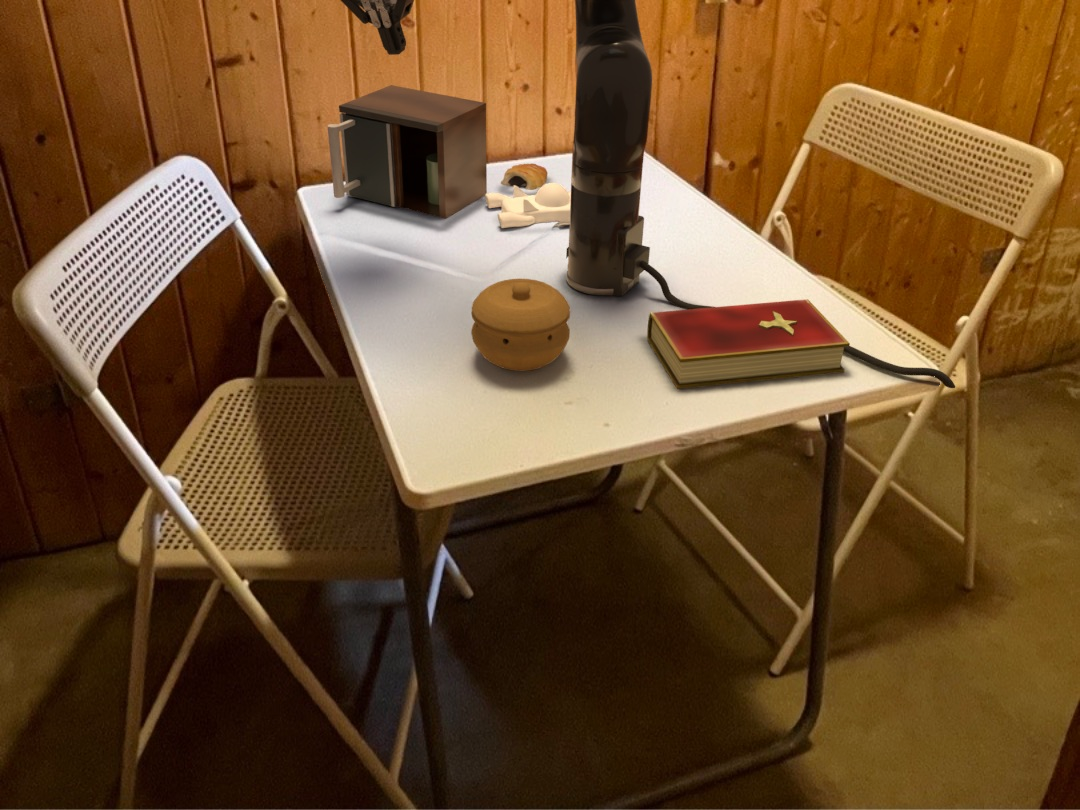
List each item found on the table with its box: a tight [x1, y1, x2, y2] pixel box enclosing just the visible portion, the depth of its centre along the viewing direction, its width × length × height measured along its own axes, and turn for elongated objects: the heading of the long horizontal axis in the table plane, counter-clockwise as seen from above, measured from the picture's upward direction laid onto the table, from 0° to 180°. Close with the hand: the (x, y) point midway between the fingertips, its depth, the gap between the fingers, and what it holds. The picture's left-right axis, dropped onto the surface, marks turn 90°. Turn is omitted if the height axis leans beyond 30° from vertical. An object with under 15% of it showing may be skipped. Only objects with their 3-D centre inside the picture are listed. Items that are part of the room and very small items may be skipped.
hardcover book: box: [646, 298, 851, 390], centre depth 123 cm, size 12×21×4 cm, turn 102°
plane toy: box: [484, 182, 571, 229], centre depth 157 cm, size 10×20×6 cm, turn 106°
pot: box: [470, 278, 571, 372], centre depth 120 cm, size 12×12×10 cm
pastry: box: [500, 163, 548, 191], centre depth 170 cm, size 9×7×4 cm
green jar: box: [426, 153, 439, 205], centre depth 160 cm, size 5×5×7 cm
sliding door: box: [327, 112, 397, 208], centre depth 154 cm, size 6×9×13 cm, turn 61°
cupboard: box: [338, 84, 488, 220], centre depth 159 cm, size 13×18×16 cm
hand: (397, 52), depth 133 cm, fingers closed
